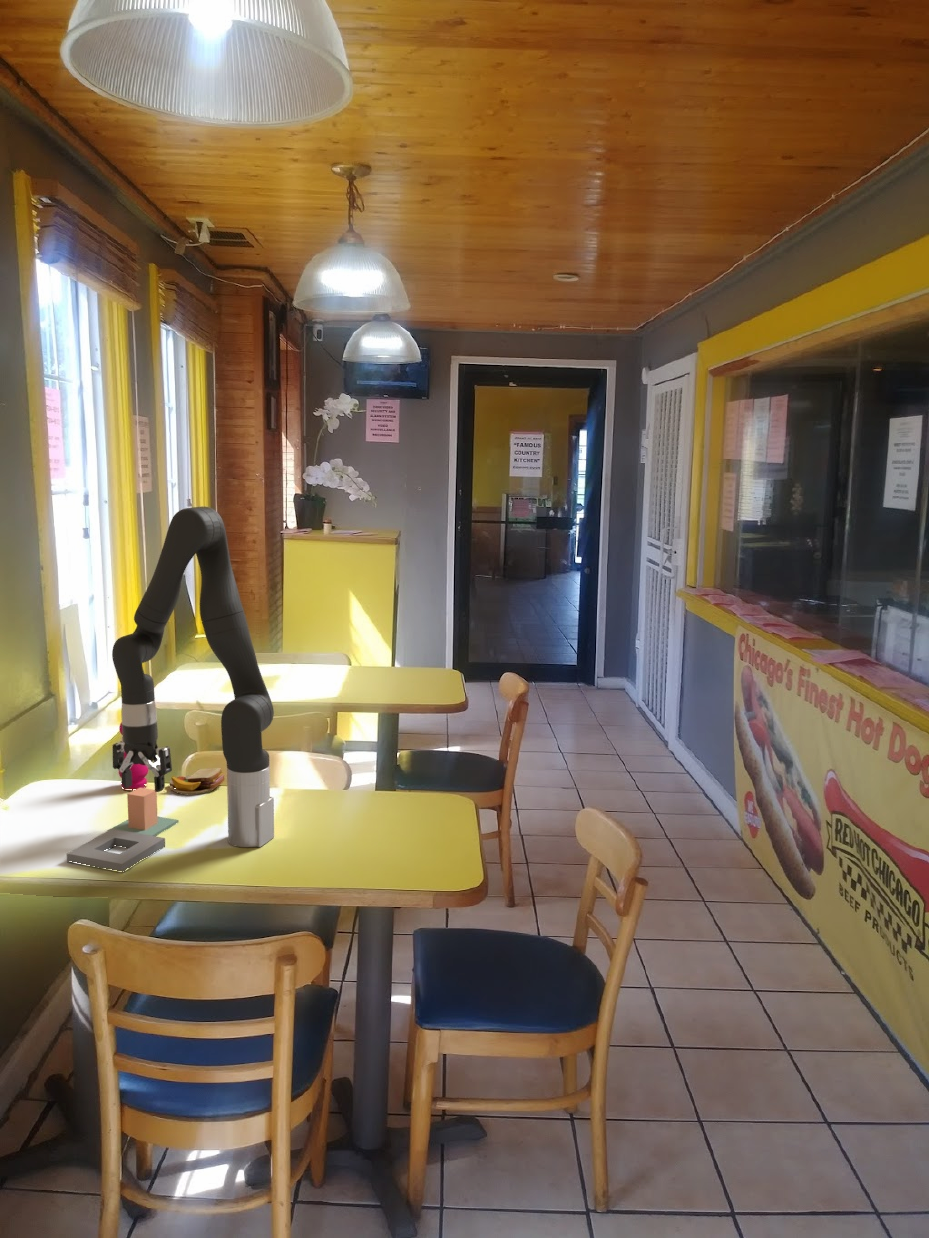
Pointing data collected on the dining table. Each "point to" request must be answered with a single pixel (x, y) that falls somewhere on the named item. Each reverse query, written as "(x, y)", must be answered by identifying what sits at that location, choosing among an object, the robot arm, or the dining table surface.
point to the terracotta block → (142, 808)
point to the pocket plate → (97, 857)
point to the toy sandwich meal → (198, 781)
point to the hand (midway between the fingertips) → (143, 789)
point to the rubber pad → (152, 831)
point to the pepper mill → (136, 772)
